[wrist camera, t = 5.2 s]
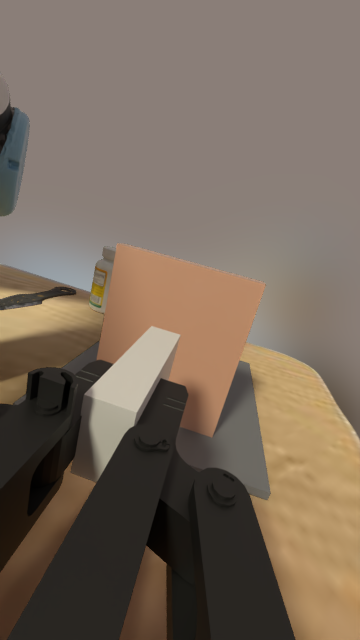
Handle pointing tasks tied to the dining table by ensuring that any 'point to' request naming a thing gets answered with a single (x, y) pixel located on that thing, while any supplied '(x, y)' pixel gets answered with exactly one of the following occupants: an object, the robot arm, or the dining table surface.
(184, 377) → the terracotta tile
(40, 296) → the throwing knife
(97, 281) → the supplement bottle
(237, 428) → the rubber mat
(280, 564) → the dining table surface
